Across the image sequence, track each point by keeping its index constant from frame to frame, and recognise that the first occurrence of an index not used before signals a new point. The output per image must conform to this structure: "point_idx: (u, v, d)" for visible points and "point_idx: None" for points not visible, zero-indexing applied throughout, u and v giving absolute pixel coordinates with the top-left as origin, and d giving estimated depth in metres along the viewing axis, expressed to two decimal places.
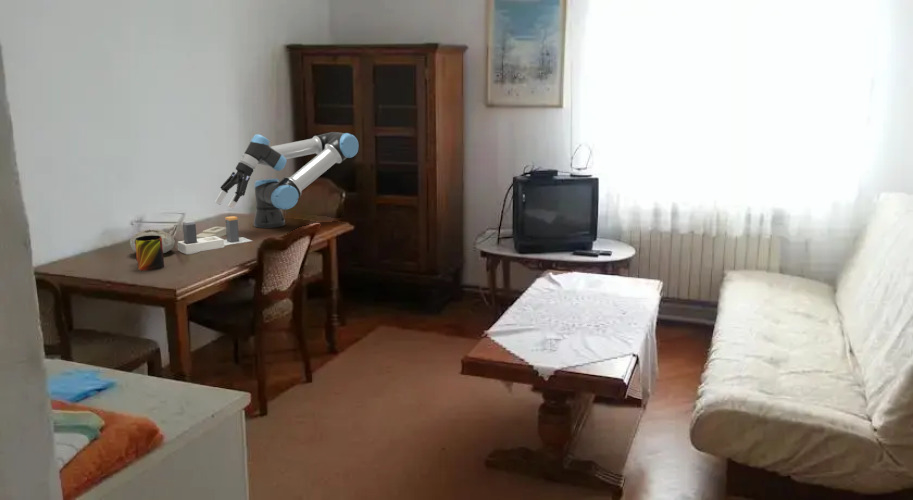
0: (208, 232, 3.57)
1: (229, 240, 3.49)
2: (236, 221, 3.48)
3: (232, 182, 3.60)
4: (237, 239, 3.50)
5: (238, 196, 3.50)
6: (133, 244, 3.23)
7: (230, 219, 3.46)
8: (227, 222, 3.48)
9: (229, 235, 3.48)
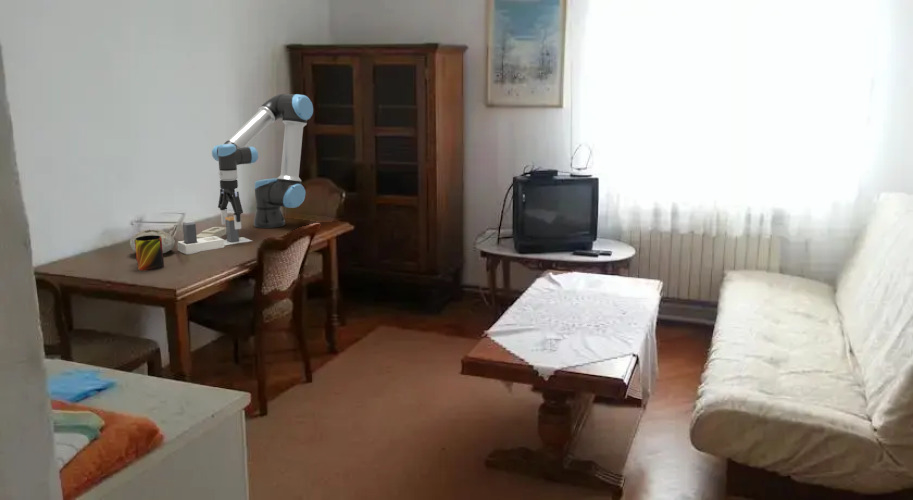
0: (207, 232, 3.56)
1: (229, 240, 3.49)
2: None
3: (225, 200, 3.49)
4: (237, 239, 3.50)
5: (238, 216, 3.42)
6: (133, 244, 3.23)
7: (230, 219, 3.46)
8: (227, 222, 3.48)
9: (229, 235, 3.48)
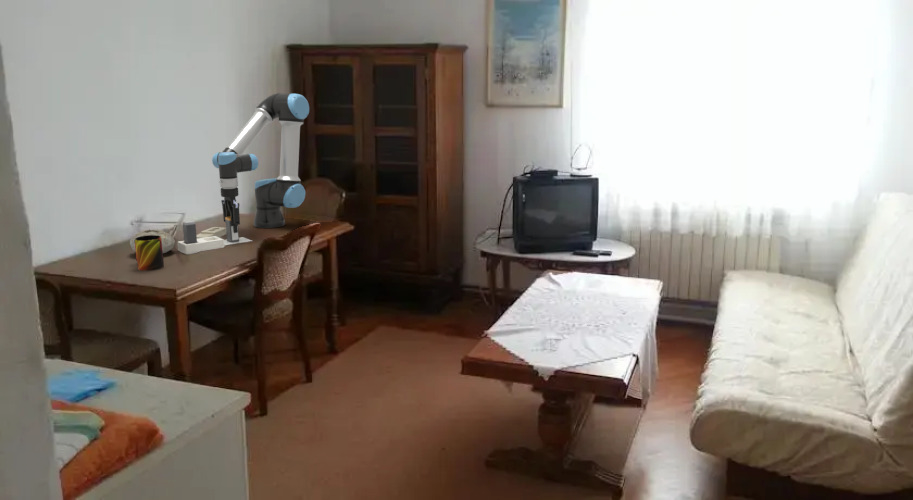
0: (207, 232, 3.56)
1: (229, 240, 3.49)
2: None
3: (228, 209, 3.49)
4: None
5: (235, 227, 3.47)
6: (133, 244, 3.23)
7: (230, 219, 3.46)
8: (227, 222, 3.48)
9: (229, 235, 3.48)
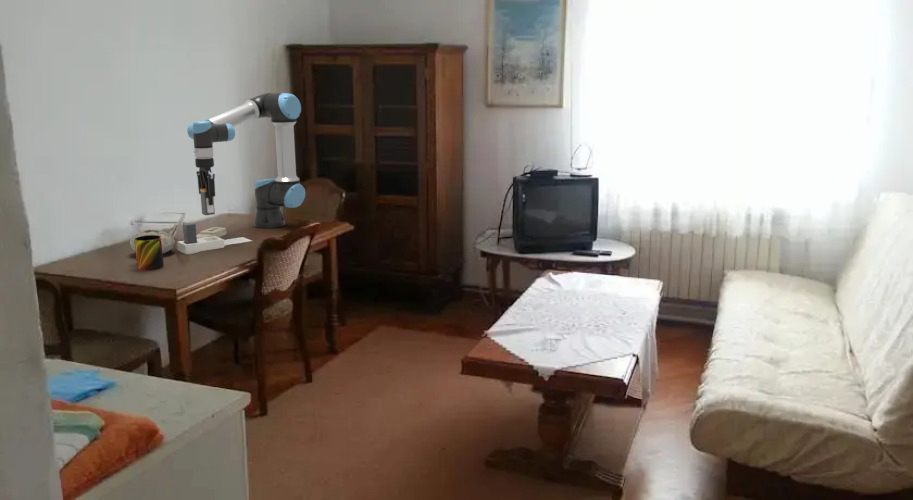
0: (206, 233, 3.55)
1: (204, 213, 3.35)
2: None
3: (203, 181, 3.35)
4: (213, 212, 3.36)
5: (211, 199, 3.33)
6: (133, 244, 3.23)
7: (205, 191, 3.32)
8: (202, 194, 3.33)
9: (204, 207, 3.34)
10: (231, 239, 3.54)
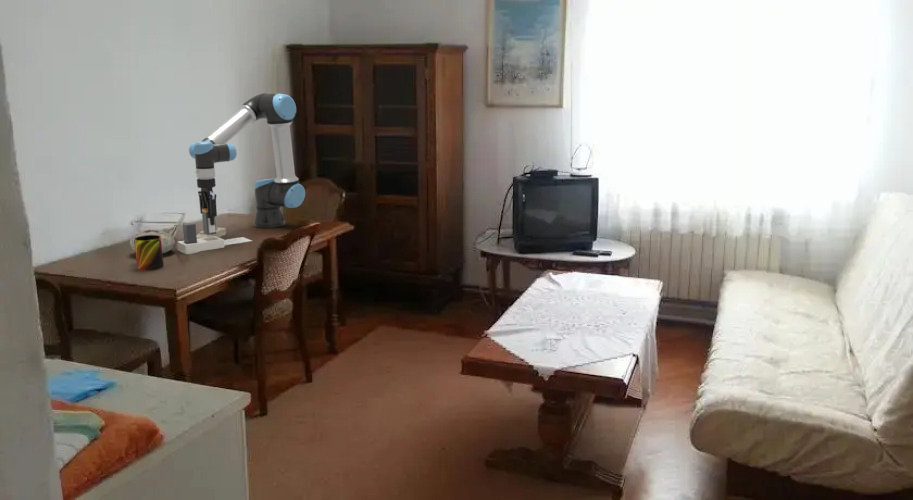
0: None
1: (206, 233, 3.37)
2: None
3: (205, 201, 3.37)
4: (214, 232, 3.38)
5: (212, 219, 3.35)
6: (133, 244, 3.23)
7: (207, 211, 3.34)
8: (204, 214, 3.36)
9: (206, 227, 3.36)
10: (231, 239, 3.54)
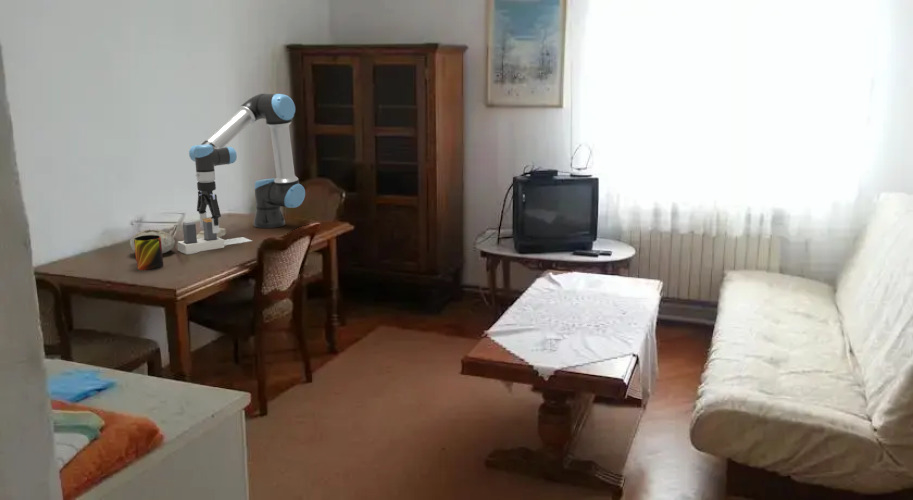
0: None
1: None
2: None
3: (204, 202, 3.38)
4: None
5: (216, 219, 3.32)
6: (133, 244, 3.23)
7: (208, 221, 3.35)
8: (205, 224, 3.37)
9: (207, 237, 3.37)
10: (231, 239, 3.54)
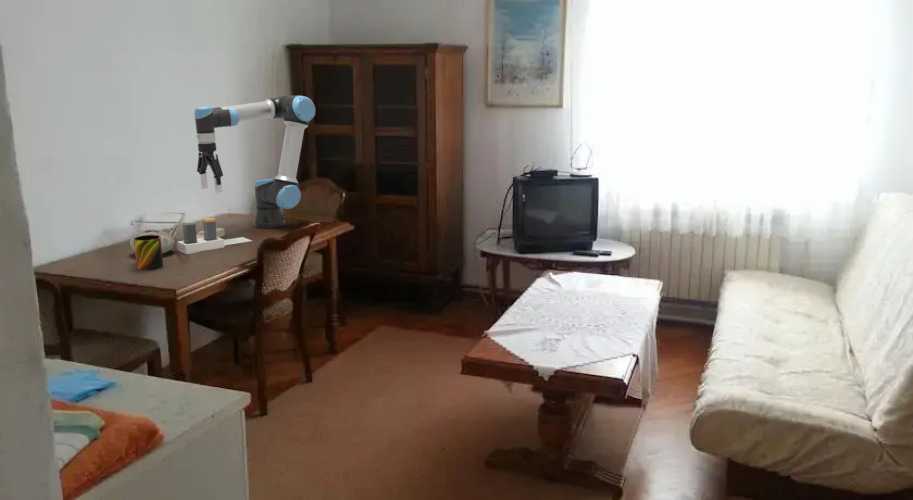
0: None
1: None
2: (214, 223, 3.38)
3: (204, 163, 3.46)
4: None
5: (219, 178, 3.39)
6: (133, 244, 3.23)
7: (207, 221, 3.36)
8: (205, 224, 3.37)
9: (207, 237, 3.37)
10: (231, 239, 3.54)
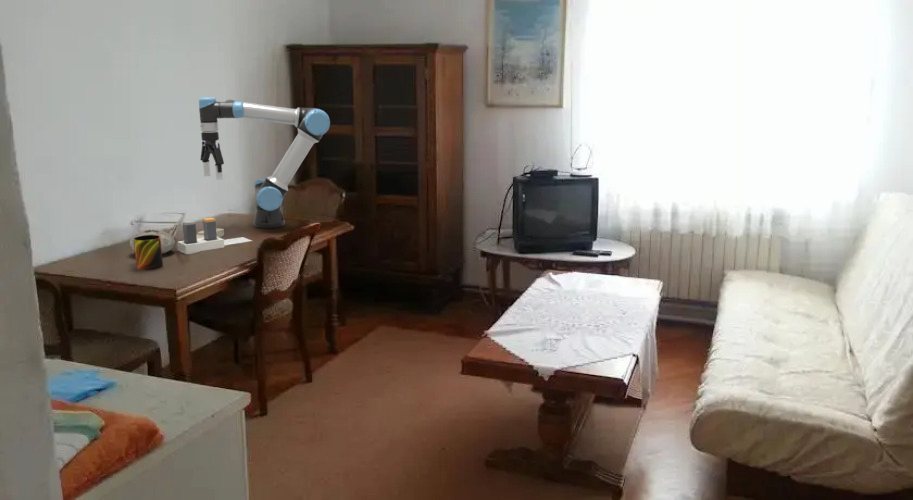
0: (203, 234, 3.54)
1: None
2: (214, 223, 3.38)
3: (207, 152, 3.61)
4: None
5: (219, 166, 3.54)
6: (133, 244, 3.23)
7: (207, 221, 3.36)
8: (205, 224, 3.37)
9: (207, 237, 3.37)
10: (231, 239, 3.54)
